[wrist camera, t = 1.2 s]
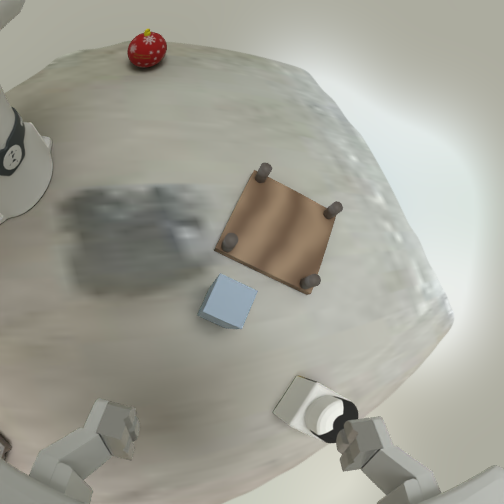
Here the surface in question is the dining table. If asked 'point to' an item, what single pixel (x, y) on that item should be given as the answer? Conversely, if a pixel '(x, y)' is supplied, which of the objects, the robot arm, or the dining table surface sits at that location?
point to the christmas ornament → (147, 49)
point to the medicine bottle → (315, 409)
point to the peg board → (278, 232)
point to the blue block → (227, 303)
